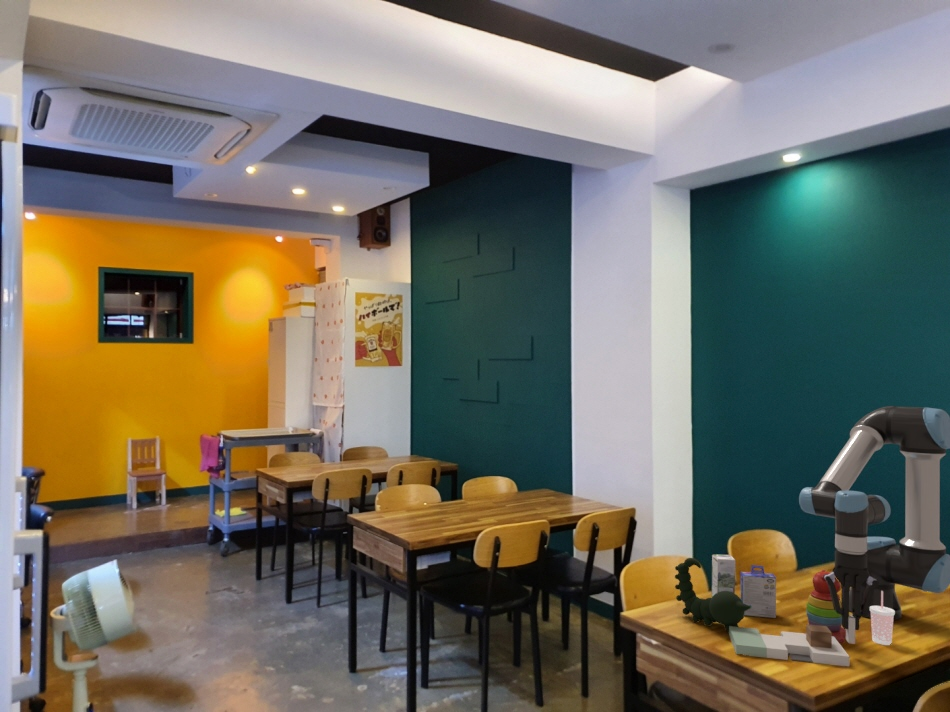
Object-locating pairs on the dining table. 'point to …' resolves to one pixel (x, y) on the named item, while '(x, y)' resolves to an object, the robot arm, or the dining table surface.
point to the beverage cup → (882, 623)
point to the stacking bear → (825, 607)
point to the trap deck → (785, 647)
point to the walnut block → (818, 636)
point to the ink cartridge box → (759, 592)
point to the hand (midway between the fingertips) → (850, 641)
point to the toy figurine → (708, 601)
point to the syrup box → (723, 573)
